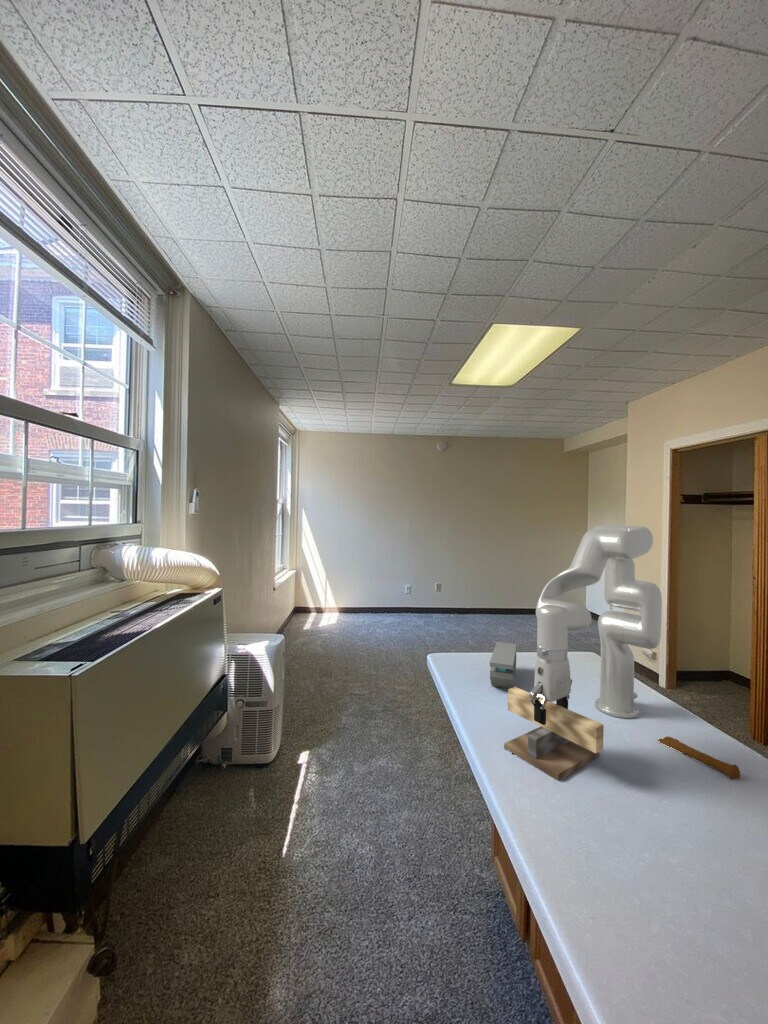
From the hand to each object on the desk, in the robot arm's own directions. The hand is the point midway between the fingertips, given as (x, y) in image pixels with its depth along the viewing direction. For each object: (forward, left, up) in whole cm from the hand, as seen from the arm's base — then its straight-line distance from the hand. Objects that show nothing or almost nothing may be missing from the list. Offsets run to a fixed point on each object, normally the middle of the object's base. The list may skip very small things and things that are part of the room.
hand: (551, 717), depth 112 cm
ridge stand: (0, 0, -9) cm, 9 cm away
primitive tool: (-30, +22, -10) cm, 39 cm away
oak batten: (0, 0, -3) cm, 3 cm away
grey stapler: (-27, -38, -10) cm, 48 cm away
